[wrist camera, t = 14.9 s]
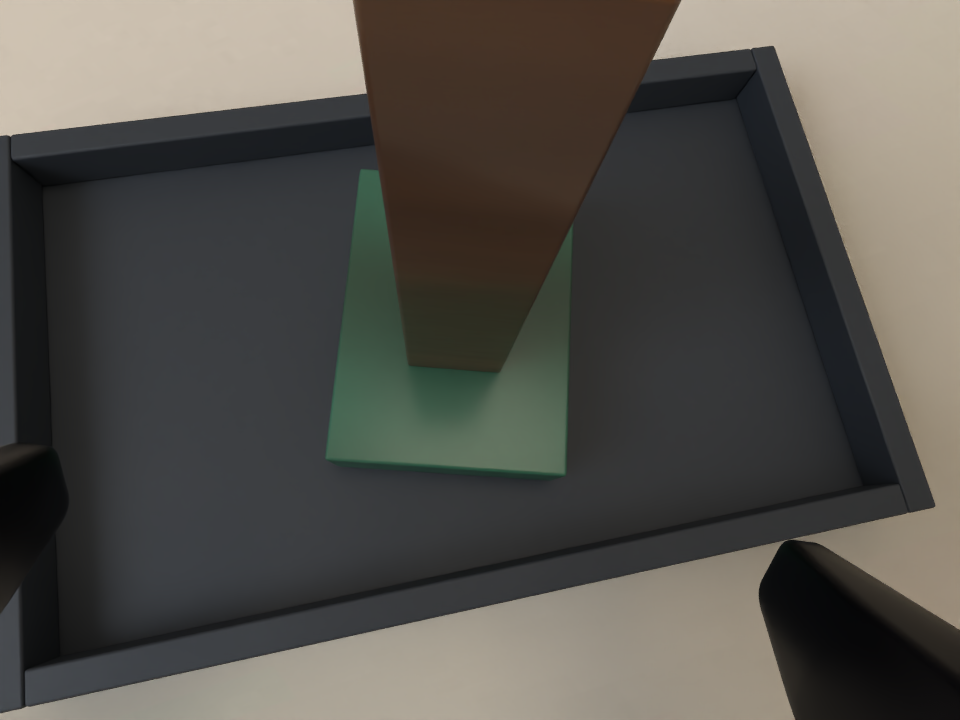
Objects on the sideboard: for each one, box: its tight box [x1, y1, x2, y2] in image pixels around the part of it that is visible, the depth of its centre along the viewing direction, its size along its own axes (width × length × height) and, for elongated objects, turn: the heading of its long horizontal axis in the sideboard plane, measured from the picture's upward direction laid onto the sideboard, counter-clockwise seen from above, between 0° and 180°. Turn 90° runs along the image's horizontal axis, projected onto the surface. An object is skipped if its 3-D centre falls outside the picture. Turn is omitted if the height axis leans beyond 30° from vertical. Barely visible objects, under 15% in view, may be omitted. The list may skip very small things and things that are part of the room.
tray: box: [0, 46, 935, 713], centre depth 18 cm, size 24×15×2 cm, turn 101°
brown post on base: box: [325, 0, 681, 481], centre depth 11 cm, size 8×6×14 cm
